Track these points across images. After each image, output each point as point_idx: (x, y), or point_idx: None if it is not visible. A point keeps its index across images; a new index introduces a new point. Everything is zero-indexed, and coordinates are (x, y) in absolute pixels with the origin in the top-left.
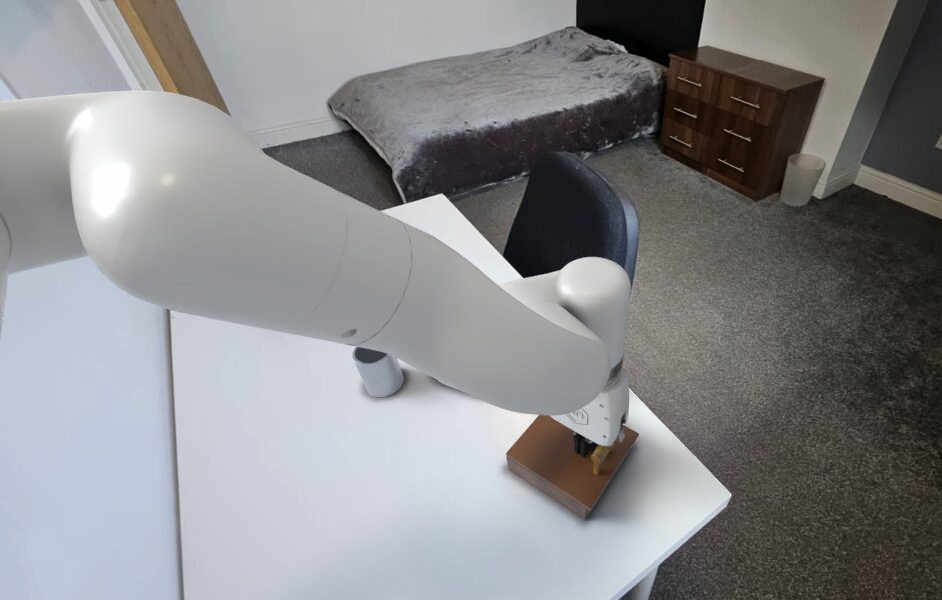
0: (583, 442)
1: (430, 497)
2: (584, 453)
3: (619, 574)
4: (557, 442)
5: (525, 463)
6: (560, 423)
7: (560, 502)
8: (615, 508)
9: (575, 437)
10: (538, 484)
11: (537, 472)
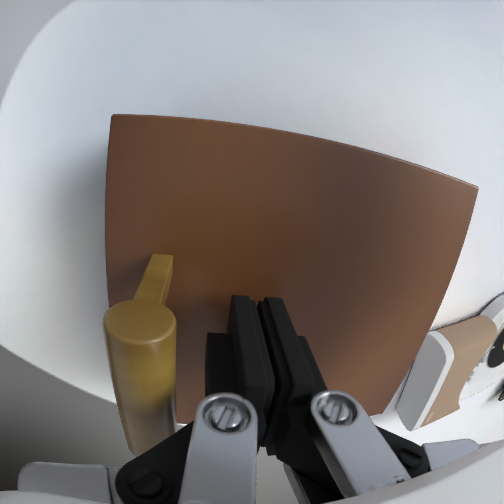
0: (253, 382)
1: (501, 68)
2: (234, 315)
3: (34, 59)
4: (354, 298)
5: (427, 176)
6: (362, 354)
7: None
8: (98, 197)
9: (311, 384)
10: None
11: (381, 159)
